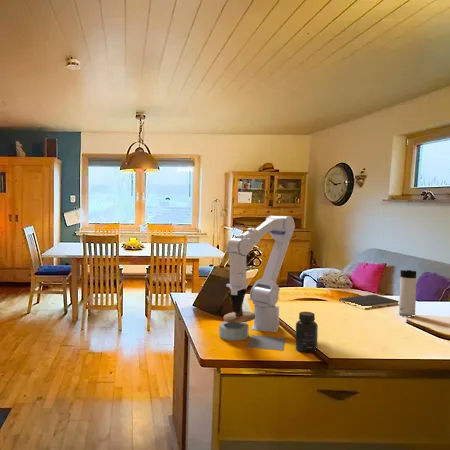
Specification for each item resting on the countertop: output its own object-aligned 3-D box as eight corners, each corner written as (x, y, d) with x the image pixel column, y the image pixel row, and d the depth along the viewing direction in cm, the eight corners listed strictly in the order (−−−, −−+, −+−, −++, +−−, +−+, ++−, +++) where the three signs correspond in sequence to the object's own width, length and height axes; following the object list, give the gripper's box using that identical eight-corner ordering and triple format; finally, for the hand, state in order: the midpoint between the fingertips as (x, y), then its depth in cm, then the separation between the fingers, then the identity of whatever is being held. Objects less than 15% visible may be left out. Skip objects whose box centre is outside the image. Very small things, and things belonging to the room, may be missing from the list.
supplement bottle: (292, 346, 123) (293, 310, 122) (313, 346, 123) (314, 310, 123) (298, 354, 116) (299, 316, 115) (320, 354, 116) (321, 316, 116)
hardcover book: (399, 305, 181) (399, 300, 181) (363, 310, 171) (363, 305, 171) (373, 298, 195) (373, 294, 195) (339, 302, 185) (339, 298, 185)
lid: (258, 314, 134) (256, 298, 134) (251, 323, 124) (250, 306, 124) (228, 314, 138) (227, 299, 137) (219, 322, 127) (218, 306, 127)
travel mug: (399, 316, 160) (400, 269, 159) (398, 312, 166) (400, 267, 165) (415, 318, 158) (417, 271, 157) (414, 314, 164) (415, 268, 163)
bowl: (250, 333, 136) (250, 322, 135) (245, 342, 126) (245, 330, 126) (223, 330, 138) (223, 320, 138) (216, 340, 128) (216, 328, 128)
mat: (285, 339, 130) (285, 338, 130) (283, 351, 118) (283, 350, 118) (251, 336, 132) (251, 335, 132) (245, 348, 121) (245, 347, 121)
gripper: (230, 268, 138) (230, 305, 139) (222, 275, 124) (221, 316, 125) (249, 269, 137) (249, 306, 137) (243, 276, 123) (242, 317, 123)
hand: (237, 311), depth 131 cm, fingers closed on lid, 3 cm apart
